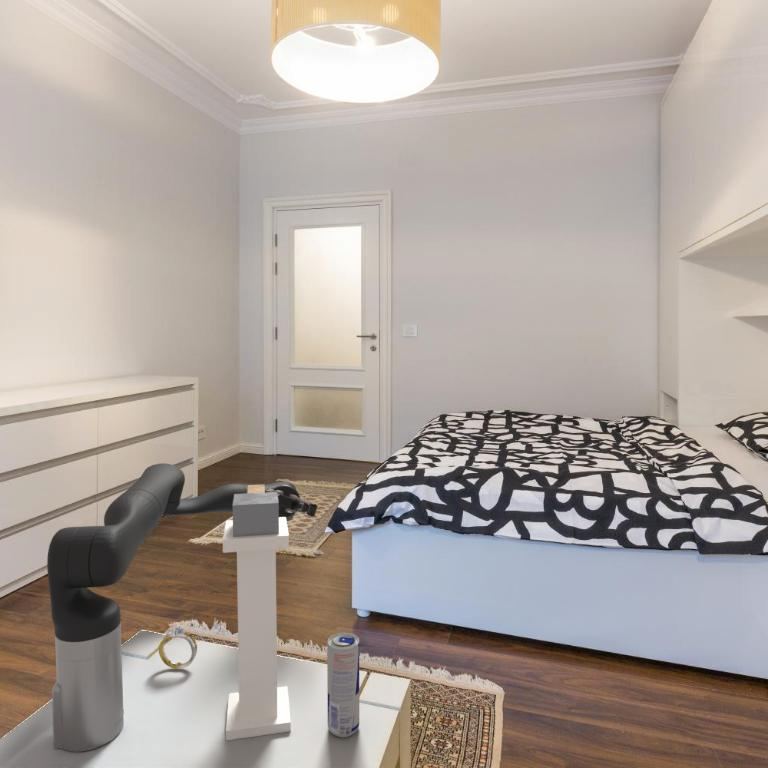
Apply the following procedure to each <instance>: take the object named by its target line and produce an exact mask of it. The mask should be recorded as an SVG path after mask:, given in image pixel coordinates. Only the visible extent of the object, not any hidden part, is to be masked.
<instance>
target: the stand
mask: <svg viewBox="0 0 768 768" xmlns="http://www.w3.org/2000/svg"><path fill="white" fill-rule="evenodd" d="M289 535H290V534H289V528H288V521H286V517H279V534H273V535H258V536H243V537H233V519H232V520H230V519H229V520H225V524H224V530H223V535H222V536H223V537H222V553H223V554H225V553H236V576H237V577H236V579H237V582H236V583H237V639H238V640H237V641H238V642H237V644H238V645H237V646H238V655H237V656H238V692H237V691H236V692H230V693H228V702H227V703H228V704H227V712H226V723H225V724H226V727H225V741H233V740H239V739H244V738H245V739H246V738H252V737H253V738H254V737H260V736H267V735H274V734H281V733H287V732H289V733H290V732H291V731H292V729H291V725H292V723H291V713H290V711H291V709H290V699H289V687H288V685H284V686H278V653H277V652H278V649H277V648H278V643H277V641H278V640H277V639H278V638H277V635H278V634H277V631H278V629H277V557H276V556H277V555H276V553H277V551H276V550H278V549H280V550H281V549H290V536H289Z"/></svg>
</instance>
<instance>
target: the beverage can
mask: <svg viewBox="0 0 768 768" xmlns="http://www.w3.org/2000/svg"><path fill="white" fill-rule="evenodd" d="M326 646H327V647H326V648H327V649H326V652H327V653H326V654H327V655H326V656H327V657H326V658H327V659H326V660H327V667H326V668H327V672H326V673H327V678H326V679H327V682H326V683H327V685H326V686H327V728H328V730H329V732H331V734H333V735H334V736H336V737H338V738H348V737H350V736H353V734H355V733H356V732H357V731H358V729H359V727H360V639H359V637H358V636H357V635H356V634H354V633H350V632H339V633H335V634H332V635H331V636H329V637H328V639H327V645H326Z"/></svg>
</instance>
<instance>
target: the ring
mask: <svg viewBox="0 0 768 768" xmlns="http://www.w3.org/2000/svg"><path fill="white" fill-rule="evenodd" d="M175 638H176V639H177V638H179V639H182V640H183V639H184V640H185V641H187V643H188V645H189V646H190V649H191V655H190V658H189V660H188V661H186V662H183V663H181V662H177V663H176V662H173V661H172V660H170V659H169V658H168V656H167V654H166V652H165V644H166V643H167V642H169V641H171V640H173V639H175ZM197 652H198V643H197V640H196V639H195V637H194V636H193V635H192V634H191V633H190V632H188V631H186V629H185V628H183V627H181V626H175V627H174V628H173V630H172V629H168V630H167V633H166V635H164V637H163V638H162V640H161V642H160V643H159V645H158V655H159V657H160V659H161V661H162V662H163V664H165V665H166V666H168V667H169V668H171V669H173V670H175V669H179V670H182V669H185V668H187V667H189V666H190V665H191V664H192V662H194V660H195V659H196V656H197Z"/></svg>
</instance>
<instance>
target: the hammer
mask: <svg viewBox="0 0 768 768" xmlns="http://www.w3.org/2000/svg"><path fill="white" fill-rule="evenodd" d="M247 485H248V492H247V493H245V494H234V500H233V512H232V520H233V537H243V536H258V535H273V534H279V502H278V494H277V492H265V485H266V484H247Z"/></svg>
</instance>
